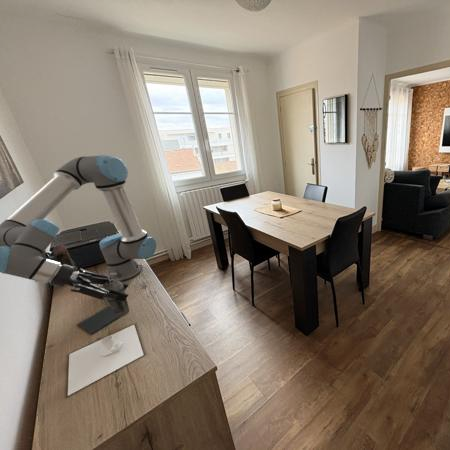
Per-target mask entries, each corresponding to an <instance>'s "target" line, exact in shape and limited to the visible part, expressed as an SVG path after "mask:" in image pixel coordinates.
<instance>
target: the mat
mask: <svg viewBox="0 0 450 450" xmlns="http://www.w3.org/2000/svg"><path fill="white" fill-rule="evenodd" d="M119 318H120V317H117V316H116V314H115V313H114V312H113V310H112V308H111V307H110V305H109V306H107V307H106V308H105V307H104V309H102V310H100V311H99V312H96V313H95V314H93V315H91V316H89V317H88V318H86V319H85V320H82V321H80V322H79V323H77V324H76V325H77V326H79V327H80V328H81V329H83V330H84V331H86V332H88V333H89V334H90V335H93V334H95V333H97V332H98V331H100V330H101V329H103V328H104V327H106V326H108V325H110V324H111V323H112V322H115V321H116V320H117V319H119Z"/></svg>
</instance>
